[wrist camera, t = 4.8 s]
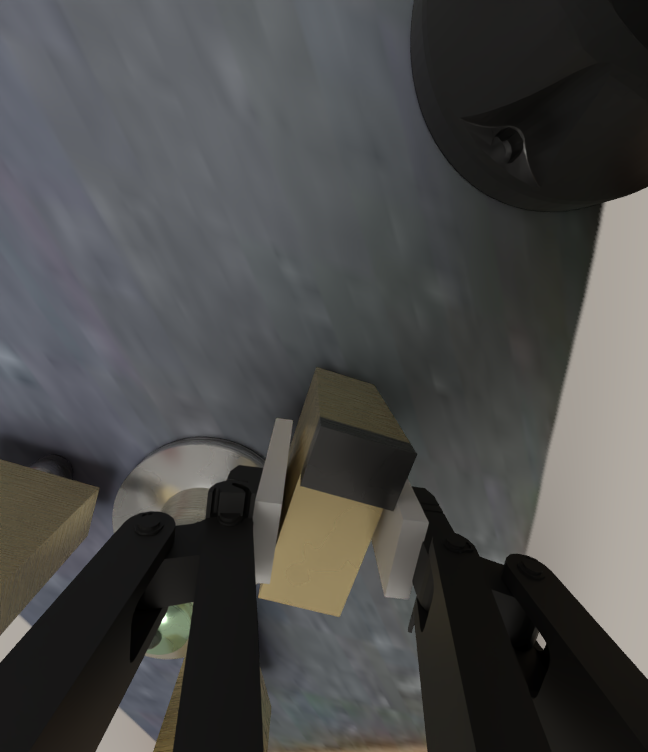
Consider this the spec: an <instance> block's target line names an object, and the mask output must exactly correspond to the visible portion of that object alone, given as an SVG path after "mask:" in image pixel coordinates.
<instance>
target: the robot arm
mask: <svg viewBox="0 0 648 752" xmlns="http://www.w3.org/2000/svg"><path fill="white" fill-rule="evenodd" d="M411 62H412V71H413V78H414V83H415V88H416V93H417V97H418V100H419V104H420V107H421V110H422V113H423V116H424V118H425V121H426V123H427V125H428V128H429V130H430V132H431V134H432V136H433V138H434V140H435V141H436V143H437V145H438V146H439V148H440V149H441V151H442V152H443V154H444V155H445V157H446V158H447V159H448V161H449V162H450V163H451V164H452V165H453V167H454V168H455V169H456V170H457V171H458V172H459V173H460V174H461V175H462V176H463V177H464V178H465V179H466V180H468V181H469V182H470V183H471V184H472V185H474V186H475V187H477V188H478V189H479V190H481V191H482V192H484V193H486V194H487V195H489V196H491V197H493V198H495V199H497V200H499V201H501V202H504V203H506V204H509V205H512V206H515V207H519V208H523V209H528V210H534V211H547V212H556V211H568V210H575V209H580V208H584V207H589V206H592V205H596V204H599V203H603V202H607V201H610V200H614V199H617V198H621V197H624V196H627V195H630V194H632V193H635V192H638V191H640V190H642V189H644V188H646V187H648V0H414V5H413V12H412V21H411ZM292 423H293V420H287V419H280V418H276V420H275V424H274V428H273V432H272V436H271V440H270V444H269V448H268V452H267V456H266V460H265V464H264V468H259V467H252V466H244V465H238V466H236V467H235V468H234V469H232V470H231V471H230V473H229V475H228V478H227V480H226V481H222V482H219V483H216V484H214V485H213V486H211V487H210V489H209V491H208V497H207V507H206V517H205V519H204V520H202V521H200V522H197V523H193V524H187V525H176V523H175V521H174V518H173V517H171V516H170V515H169V514H166V513H163V512H158V511H149V512H143V513H139V514H137V515H134V516H132V517H130V518H129V519H128V520H126V521H125V522H124V523H123V524H122V525H121V526H120V528H119V529H118V530H117V531H116V532H115V533H114V534H113V535H112V537H111V538H110V539H109V540H108V541H107V542H106V543H105V545H104V546H103V547H102V548H101V549H100V550H99V551H98V553H97V554H96V555H95V556H94V557H93V558H92V559H91V560H90V562H89V563H88V564H87V565H86V566H85V567H84V568H83V570H82V571H81V572H80V573H79V574H78V575H77V576H76V577H75V579H74V580H73V581H72V582H71V583H70V584H69V585H68V587H67V588H66V589H65V590H64V591H63V592H62V593H61V594H60V596H59V597H58V598H57V599H56V600H55V601H54V602H53V604H52V605H51V606H50V607H49V608H48V609H47V610H46V611H45V613H44V614H43V615H42V616H41V617H40V618H39V619H38V621H37V622H36V623H35V624H34V625H33V626H32V627H31V629H30V630H29V631H28V632H27V633H26V634H25V636H24V637H23V638H22V639H21V640H20V641H19V642H18V643H17V644H16V646H15V647H14V648H13V649H12V650H11V651H10V653H9V654H8V655H7V656H6V657H5V658H4V659H3V660H2V661H1V663H0V752H95V751H96V749H97V747H98V745H99V743H100V742H101V740H102V738H103V736H104V733H105V732H106V730H107V728H108V726H109V724H110V722H111V720H112V718H113V716H114V714H115V712H116V710H117V708H118V706H119V704H120V702H121V701H122V699H123V697H124V695H125V693H126V691H127V689H128V687H129V685H130V683H131V681H132V679H133V677H134V675H135V673H136V671H137V669H138V667H139V665H140V663H141V661H142V659H143V658H144V656H145V654H146V652H147V650H148V648H149V646H150V644H151V642H152V640H153V638H154V636H155V634H156V632H157V630H158V628H159V626H160V624H161V622H162V620H163V618H164V617H165V615H166V613H167V611H168V607H169V606H174V605H180V604H186V603H191V602H194V603H193V610H192V617H191V624H190V631H189V638H188V645H187V653H186V660H185V667H184V674H183V681H182V688H181V695H180V702H179V710H178V717H177V724H176V731H175V738H174V745H173V752H264V746H263V725H262V704H261V683H260V663H259V642H258V621H257V600H256V583H264V584H270V579H271V572H272V566H273V559H274V553H275V546H276V540H277V533H278V527H279V520H280V514H281V507H282V500H283V492H284V485H285V477H286V469H287V462H288V454H289V446H290V439H291V431H292ZM371 539H372V544H373V548H374V553H375V557H376V561H377V566H378V570H379V574H380V579H381V583H382V588H383V592H384V596H385V597H391V598H400V599H409V596H410V593H411V589H412V585H414V588H415V591H416V594H417V597H416V600H415V604H414V608H413V612H412V615H411V619H410V623H409V627H408V632H411V633H412V629H413V626H414V625H415V632H416V642H417V652H418V662H419V672H420V682H421V692H422V701H423V711H424V721H425V731H426V741H427V751H428V752H648V679H647V678H646V677H645V676H644V675H643V673H642V672H641V671H640V670H639V669H638V668H637V667H636V666H635V664H634V663H633V662H632V661H631V660H630V659H629V658H628V657H627V656H626V654H624V652H623V651H622V650H621V649H620V648H619V647H618V645H617V644H616V643H615V642H614V641H613V640H612V639H611V637H610V636H609V635H608V634H607V633H606V632H605V631H604V630H603V628H602V627H601V626H600V625H599V624H598V623H597V622H596V621H595V620H594V619H593V617H592V616H591V615H590V614H589V613H588V612H587V611H586V609H585V608H584V607H583V606H582V605H581V604H580V603H579V602H578V600H577V599H576V598H575V597H574V596H573V595H572V594H571V593H570V591H569V590H568V589H567V588H566V587H565V586H564V585H563V584H562V582H561V581H560V580H559V579H558V578H557V577H556V576H555V575H554V574H553V572H552V571H551V570H549V569H548V568H547V567H546V566H545V565H543V564H542V563H541V562H539V561H538V560H536V559H534V558H531V557H530V556H527V555H522V554H510V555H509V556H508V557H507V558H506V561H505V564H504V565H502V564H499V563H496V562H493V561H490V560H487V559H485V558H482V557H480V556H479V554H478V552H477V550H476V548H475V546H474V545H473V544H472V543H471V542H470V541H469V540H468V539H466V538H464V537H463V536H461V535H459V534H456V533H454V531H453V529H452V527H451V525H450V524H449V522H448V520H447V518H446V517H445V515H444V514H443V511H442V509H441V508H440V507H439V504H438V502H437V501H436V499H435V497H434V496H433V495H432V494H431V493H430V492H429V491H427V490H426V489H425V488H419V487H411V484H410V482H409V480H408V478H407V480H406V482H405V485H404V487H403V490H402V492H401V494H400V497H399V499H398V502H397V504H396V506H395V509H394V511H390V510H386V509H383V511H382V514H381V516H380V519H379V521H378V524H377V526H376V528H375V531H374V533H373V536H372V538H371ZM539 632H540V634H541V635H542V637H543V638H544V640H545V642H546V646H545V648H544V650H543V649H542V648H541V646H540V645H539V644H538V642H537V641H536V639H537V636H538V633H539Z"/></svg>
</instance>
